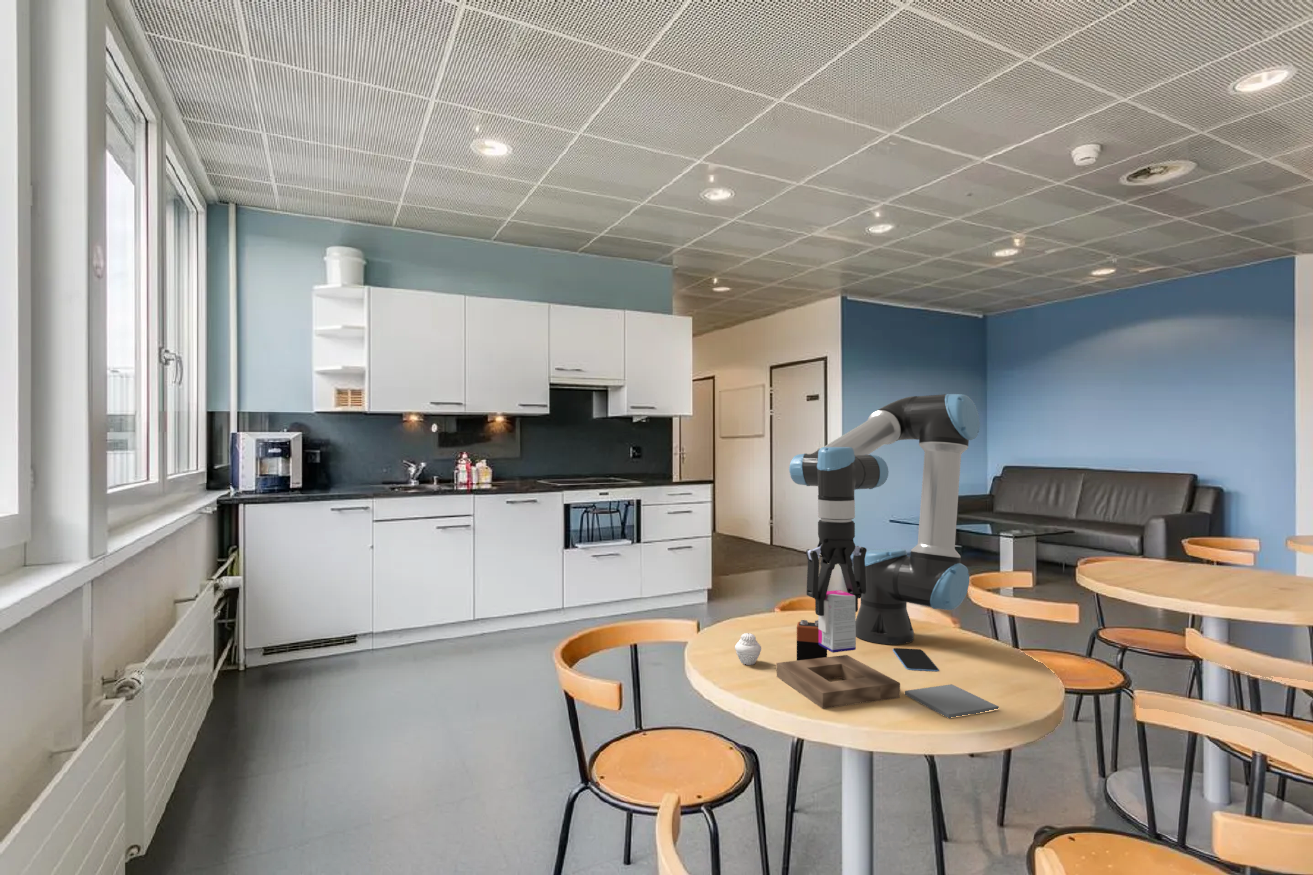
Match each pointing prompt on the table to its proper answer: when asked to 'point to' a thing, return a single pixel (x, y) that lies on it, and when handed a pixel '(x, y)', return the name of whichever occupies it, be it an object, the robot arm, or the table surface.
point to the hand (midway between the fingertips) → (836, 628)
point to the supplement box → (840, 623)
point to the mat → (950, 700)
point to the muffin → (748, 649)
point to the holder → (853, 690)
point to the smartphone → (915, 659)
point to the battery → (809, 641)
